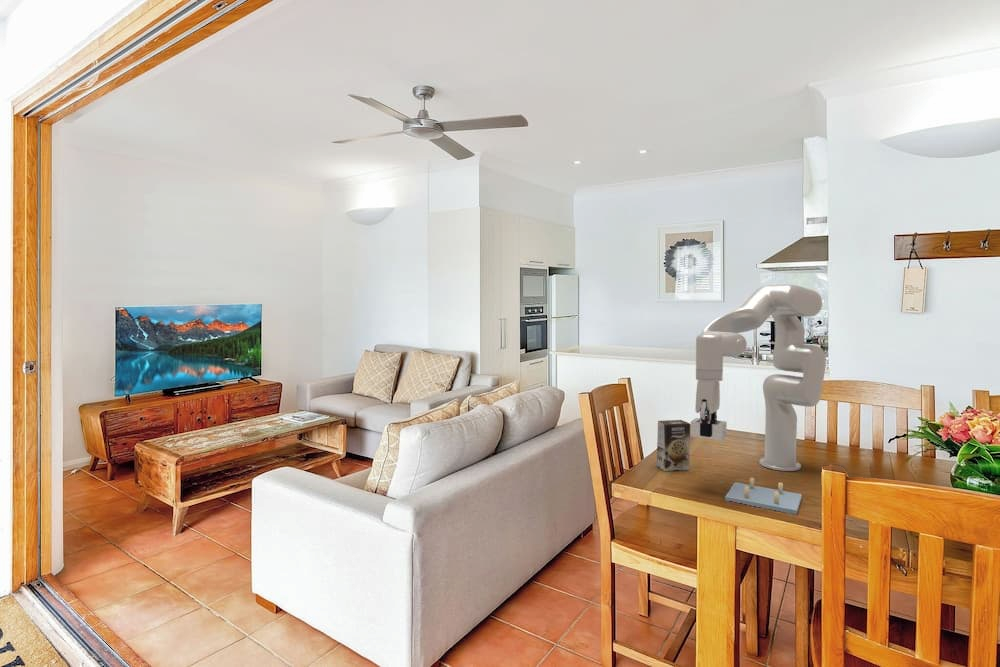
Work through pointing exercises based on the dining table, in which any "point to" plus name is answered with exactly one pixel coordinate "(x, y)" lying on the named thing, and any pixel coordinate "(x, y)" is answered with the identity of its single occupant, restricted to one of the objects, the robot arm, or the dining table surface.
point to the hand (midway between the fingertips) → (708, 433)
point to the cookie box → (673, 445)
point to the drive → (717, 429)
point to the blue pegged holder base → (765, 497)
